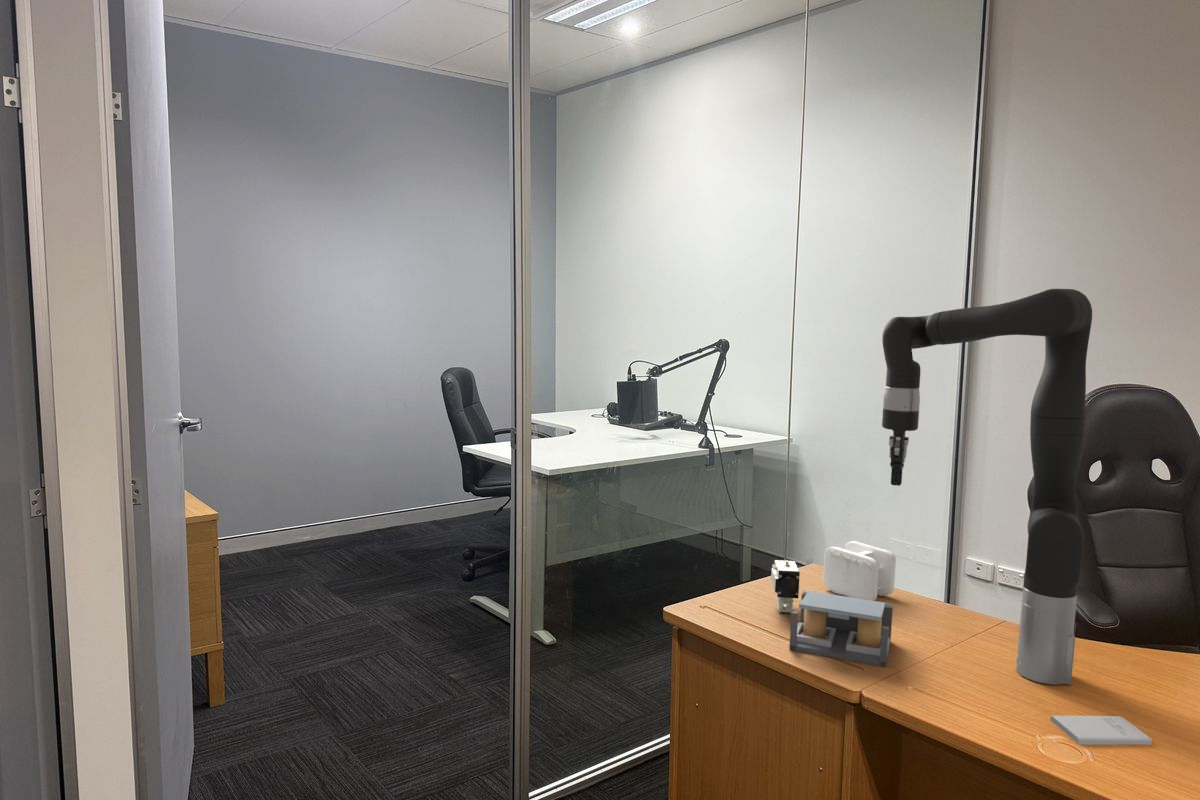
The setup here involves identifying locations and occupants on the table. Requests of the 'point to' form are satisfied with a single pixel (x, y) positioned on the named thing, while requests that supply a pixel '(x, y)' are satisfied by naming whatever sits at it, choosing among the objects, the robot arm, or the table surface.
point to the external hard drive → (1101, 730)
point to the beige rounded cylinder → (869, 632)
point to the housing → (838, 636)
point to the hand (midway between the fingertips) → (896, 484)
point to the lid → (843, 606)
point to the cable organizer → (859, 571)
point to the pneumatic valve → (785, 583)
